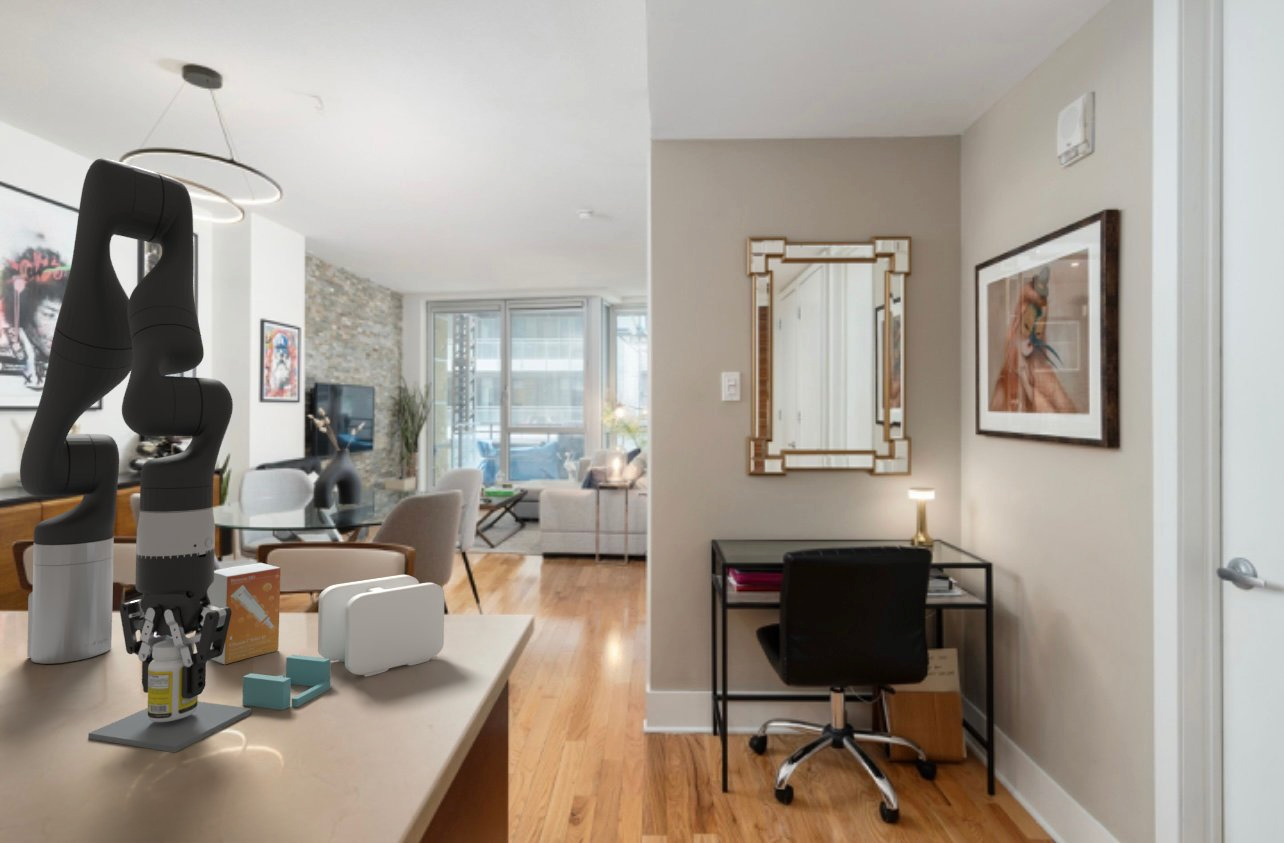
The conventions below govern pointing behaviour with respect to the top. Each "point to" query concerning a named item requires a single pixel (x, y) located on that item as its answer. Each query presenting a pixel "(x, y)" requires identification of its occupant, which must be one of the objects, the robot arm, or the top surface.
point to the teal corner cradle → (288, 683)
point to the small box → (248, 609)
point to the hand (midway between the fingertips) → (173, 692)
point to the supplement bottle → (167, 684)
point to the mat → (170, 727)
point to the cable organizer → (381, 623)
